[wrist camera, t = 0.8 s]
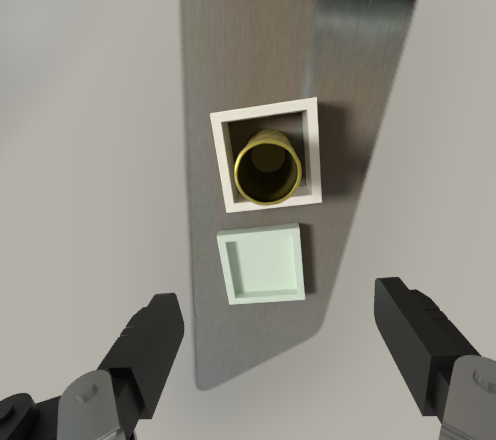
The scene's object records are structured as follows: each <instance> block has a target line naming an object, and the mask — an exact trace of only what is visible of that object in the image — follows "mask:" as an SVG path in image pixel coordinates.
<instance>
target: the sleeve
mask: <svg viewBox="0 0 496 440" xmlns="http://www.w3.org/2000/svg"><path fill="white" fill-rule="evenodd" d="M297 112H302V123H303V138H304V154H305V169H306V184H307V186H299V187H298V188H297V189H296V191H295V192H294V194H293V195H292V196H291V197H290V198H289V199H287V200H285V201H284V202H282V203H280V204H276V205H269V206H262V205H257V204H254V203H252V202H251V201H249V200H248V199H246V198H245V197H244V196H243V195H242V194H241V193H238V188H237V186H236V183H235V179H234V160H233V153H232V147H231V140H230V133H229V127H228V123H229V122H235V121H242V120H249V119H256V118H263V117H269V116H276V115H283V114H290V113H297ZM210 116H211V122H212V128H213V134H214V140H215V146H216V152H217V158H218V164H219V170H220V176H221V182H222V188H223V194H224V199H225V205H226V211H227V213H229V212H238V211H247V210H257V209H266V208H275V207H285V206H294V205H303V204H313V203H322V196H321V175H320V155H319V134H318V113H317V97H314V98H308V99H301V100H295V101H288V102H282V103H275V104H269V105H262V106H255V107H249V108H242V109H236V110H229V111H223V112H216V113H210Z"/></svg>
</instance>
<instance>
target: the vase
mask: <svg viewBox="0 0 496 440" xmlns="http://www.w3.org/2000/svg"><path fill="white" fill-rule="evenodd" d="M301 175H302V169H301V163H300V160H299V159H298V157H297V155H296V153H295V151H294V149H293V148H292V145H291V143H290V141H289V140H288V138H287V137H286V136H285V135H284V134H282V133H281V132H279V131H277V130H262V131H259V132H257V133H256V134H254V135H253V136H252V137H251V138H250V139H249V140H248V142H247V144H246V146H245V148H244V149H243V150H242V151H241V152H240V153H239V155H238V158H237V160H236V162H235V166H234V179H235V183H236V186H237V188H238V190H239V191H240V193H241V194H242V195H243V196H244V197H245V198H246V199H248V200H249V201H251V202H252V203H254V204H257V205H262V206H269V205H276V204H280V203H282V202H284V201H285V200H287V199H289V198H290V197H291V196H292V195H293V194H294V192H295V191H296V189H297V188H298V186H299V184H300V181H301Z"/></svg>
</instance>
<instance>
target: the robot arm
mask: <svg viewBox="0 0 496 440" xmlns="http://www.w3.org/2000/svg"><path fill="white" fill-rule="evenodd" d="M374 316H375V321H376V325H377V327H378V329H379V331H380V333H381V335H382V337H383V339H384V341H385V343H386V345H387V347H388V349H389V351H390V353H391V355H392V357H393V359H394V361H395V363H396V365H397V366H398V369H399V370H400V373H401V374H402V376H403V378H404V380H405V382H406V384H407V386H408V388H409V390H410V392H411V394H412V396H413V398H414V400H415V402H416V404H417V406H418V408H419V410H420V412H421V414H422V416H437V417H438V419H439V421H440V422H441V424H442V426H441V430H440V435H439V440H496V361H494V360H492V359H489V358H486V357H482V356H481V355H480V354H479V353H478V352H477V351H476V349H474V347H473V346H472V345H471V344H470V343H469V341H468V340H467V339H466V338H465V337H464V336H463V335H462V334H461V332H460V331H459V330H458V329H457V328H456V327H455V326H454V324H453V323H452V322H451V321H450V320H448V318H447V317H446V315H445V314H444V313H443V312H442V311H440V309H439V307H438V306H437V305H436V304H435V303H434V302H433V301H432V299H430V298H429V297H428V296H426V295H424V294H423V293H421V292H420V291H418V290H416V289H415V290H409V289H408V288H407V286H406V285H405V284H404V283H403V282H402V280H401V279H400V278H399V277H389V278H377V279H376V280H375V296H374ZM183 335H184V321H183V317H182V314H181V310H180V307H179V303H178V300H177V296H176V294H175V293H164V294H156V295H154V297H153V298H152V300H151V301H150V303H149V305H148V306H147V307H143V308H142V309H141V310H139V311H138V312H137V313H136V314H135V315H134V316H133V317H132V318H131V320H130V321H129V322H128V324H127V325H126V329H124V330H123V331H122V333H121V334H120V337H118V339H117V340H116V342H115V343H114V345H113V346H112V348H111V349H110V351H109V352H108V354H107V355H106V356H105V358H104V359H103V361H102V362H101V364H100V365H99V367H98V369H97V370H95V371H91V372H88V373H86V374H84V375H82V376H81V377H79V378H78V379H76V380H75V381H74V382H73V383H71V384H70V385H69V386H68V387H67V389H66V390H65V391H64V393H63V394H62V395H61V396H58V397H55V398H52V399H49V400H46V401H43V402H40V403H36V404H35V402H34V401H33V399H32V397H31V396H30V395H29V394H27V393H19V394H15V395H12V396H10V397H7V398H5V399H4V400H2V401H0V440H137V436H136V433H135V431H134V429H135V427H136V424H137V422H138V420H139V419H152V417H153V414H154V412H155V409H156V406H157V404H158V401H159V398H160V396H161V393H162V391H163V388H164V386H165V383H166V380H167V378H168V375H169V373H170V370H171V367H172V365H173V362H174V359H175V357H176V354H177V352H178V349H179V346H180V344H181V341H182V339H183Z"/></svg>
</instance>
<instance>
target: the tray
mask: <svg viewBox="0 0 496 440" xmlns="http://www.w3.org/2000/svg"><path fill="white" fill-rule="evenodd" d="M217 240H218V246H219V251H220V257H221V262H222V267H223V273H224V278H225V283H226V289H227V294H228V299H229V305H230V304H245V303H260V302H275V301H290V300H305V293H304V281H303V268H302V255H301V243H300V230H299V225H298V223H290V224H280V225H270V226H260V227H250V228H240V229H230V230H220V231H219V232H218V234H217Z"/></svg>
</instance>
